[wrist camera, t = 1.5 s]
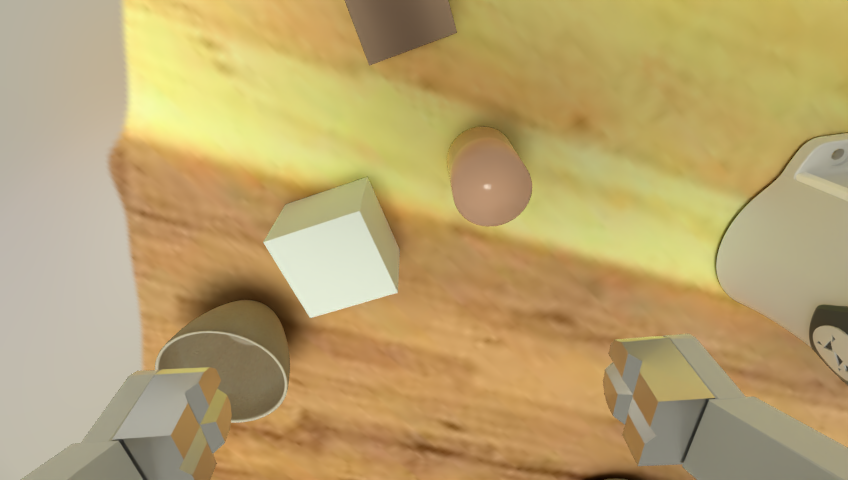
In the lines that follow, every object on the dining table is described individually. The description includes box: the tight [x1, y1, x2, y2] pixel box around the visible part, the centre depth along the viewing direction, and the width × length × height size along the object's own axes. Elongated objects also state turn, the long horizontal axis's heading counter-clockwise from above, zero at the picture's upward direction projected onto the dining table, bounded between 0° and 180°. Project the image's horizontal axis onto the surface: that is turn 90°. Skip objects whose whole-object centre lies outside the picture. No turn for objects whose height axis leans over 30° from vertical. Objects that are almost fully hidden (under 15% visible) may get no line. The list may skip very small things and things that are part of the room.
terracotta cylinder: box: [447, 126, 532, 226], centre depth 30 cm, size 5×5×6 cm
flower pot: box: [155, 300, 290, 423], centre depth 37 cm, size 10×10×7 cm
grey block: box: [263, 177, 400, 318], centre depth 33 cm, size 7×7×6 cm
